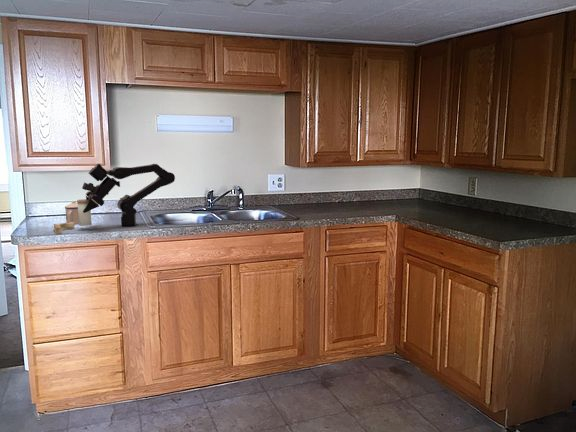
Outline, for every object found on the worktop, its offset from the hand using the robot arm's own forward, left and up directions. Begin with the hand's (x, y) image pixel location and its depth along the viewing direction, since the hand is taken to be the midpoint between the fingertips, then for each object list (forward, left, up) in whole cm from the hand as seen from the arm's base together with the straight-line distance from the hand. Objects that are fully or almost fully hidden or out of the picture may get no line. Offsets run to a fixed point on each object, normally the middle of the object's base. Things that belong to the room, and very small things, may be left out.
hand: (82, 211), depth 245 cm
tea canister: (-1, 0, -7) cm, 7 cm away
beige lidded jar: (+10, -18, -9) cm, 23 cm away
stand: (+7, +3, -9) cm, 12 cm away
